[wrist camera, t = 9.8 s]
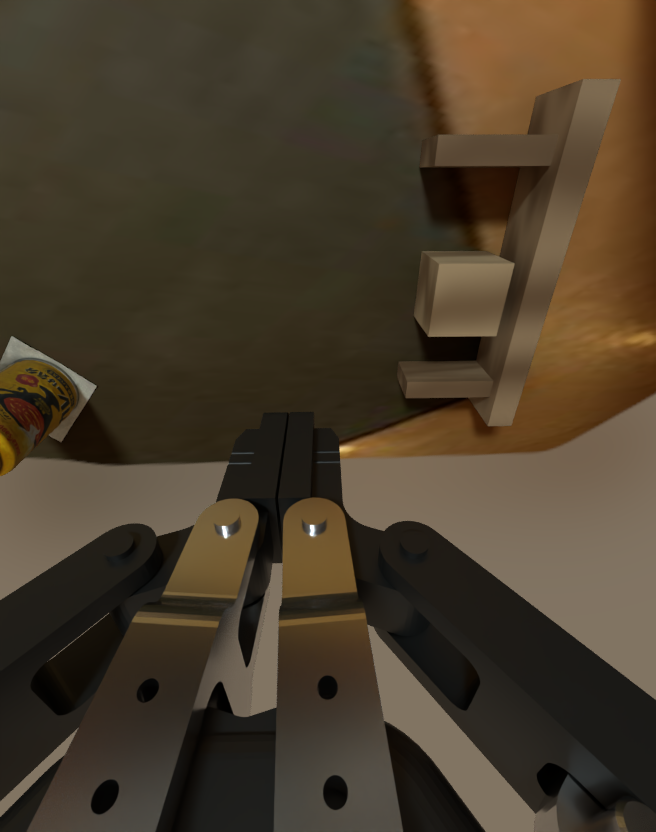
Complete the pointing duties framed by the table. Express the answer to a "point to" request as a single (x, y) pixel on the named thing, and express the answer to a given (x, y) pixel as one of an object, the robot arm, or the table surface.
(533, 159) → the wooden plank
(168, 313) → the table surface
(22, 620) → the robot arm
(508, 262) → the block
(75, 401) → the condiment
